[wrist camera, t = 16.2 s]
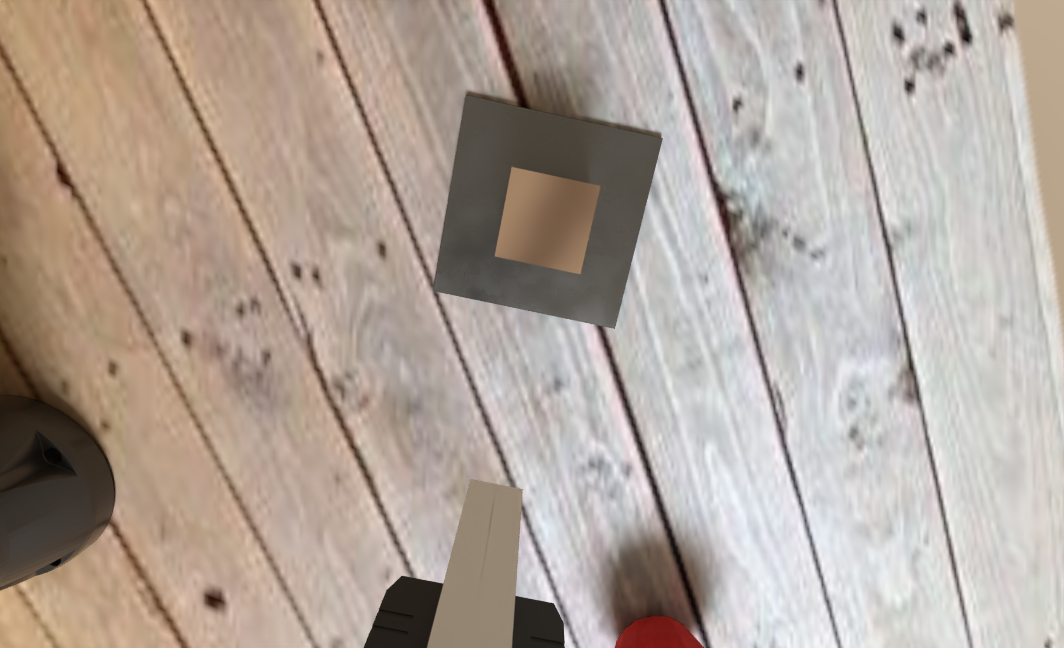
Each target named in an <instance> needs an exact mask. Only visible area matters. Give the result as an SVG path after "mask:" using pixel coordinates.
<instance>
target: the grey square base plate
mask: <svg viewBox="0 0 1064 648" xmlns="http://www.w3.org/2000/svg"><path fill="white" fill-rule="evenodd" d="M662 139H663V138H659V137H654V136H650V135H645V134H641V133H636V132H632V131H627V130H622V129H618V128H613V127H609V126H604V125H600V124H595V123H590V122H586V121H581V120H577V119H572V118H568V117H563V116H558V115H554V114H549V113H545V112H540V111H536V110H531V109H526V108H522V107H517V106H513V105H508V104H504V103H499V102H495V101H490V100H485V99H481V98H476V97H472V96H467V95H466V98H465V104H464V110H463V116H462V122H461V128H460V134H459V140H458V146H457V152H456V158H455V164H454V170H453V176H452V182H451V188H450V193H449V199H448V205H447V211H446V217H445V223H444V229H443V235H442V241H441V247H440V253H439V259H438V265H437V271H436V277H435V283H434V289H433V291H436V292H441V293H446V294H451V295H456V296H460V297H465V298H470V299H475V300H480V301H484V302H489V303H494V304H499V305H504V306H508V307H513V308H518V309H523V310H528V311H532V312H537V313H542V314H547V315H552V316H556V317H561V318H566V319H571V320H576V321H581V322H585V323H590V324H595V325H600V326H605V327H609V328H614V329H615V326H616V322H617V318H618V314H619V310H620V306H621V302H622V298H623V294H624V290H625V286H626V282H627V278H628V274H629V270H630V266H631V262H632V258H633V254H634V250H635V246H636V242H637V238H638V234H639V230H640V226H641V222H642V218H643V214H644V210H645V206H646V202H647V198H648V194H649V191H650V187H651V183H652V179H653V175H654V171H655V167H656V163H657V159H658V155H659V151H660V147H661V143H662ZM512 167H515V168H519V169H524V170H529V171H533V172H538V173H543V174H547V175H552V176H557V177H561V178H566V179H571V180H575V181H580V182H585V183H589V184H594V185H599V186H600V191H599V195H598V200H597V204H596V208H595V213H594V217H593V221H592V226H591V230H590V235H589V239H588V243H587V248H586V252H585V256H584V261H583V265H582V269H581V274H577V273H572V272H567V271H562V270H558V269H553V268H548V267H543V266H538V265H534V264H529V263H524V262H519V261H515V260H510V259H505V258H500V257H495V252H496V247H497V242H498V236H499V231H500V226H501V221H502V215H503V210H504V205H505V200H506V194H507V189H508V184H509V179H510V173H511V168H512Z"/></svg>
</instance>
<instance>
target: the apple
mask: <svg viewBox="0 0 1064 648" xmlns="http://www.w3.org/2000/svg"><path fill="white" fill-rule="evenodd" d="M615 648H704V647H703V646H702V645H701V644H700V643H699V641H698V640H697V639H696V638H695V637H694V636H693V635H692V634H691V633H690V632H689V630H688V629H687V628H686V627H685V626H684V625H683V624H681V623H679V622H677V621H676V620H674V619H672V618H670V617H662V616H650V617H646V618H642V619H638V620H636V621H635V622H633V623H632V624H631V625H630V626H628V627H627V628H626V629H625V630H624V631H623V633H622V634H621V635H620V637H619V638H618V640H617V641H616V645H615Z"/></svg>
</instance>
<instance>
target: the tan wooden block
mask: <svg viewBox="0 0 1064 648" xmlns="http://www.w3.org/2000/svg"><path fill="white" fill-rule="evenodd" d="M599 191H600V186H599V185H594V184H589V183H585V182H580V181H575V180H571V179H566V178H561V177H557V176H552V175H547V174H543V173H538V172H533V171H529V170H524V169H519V168H515V167H512V168H511V173H510V179H509V184H508V189H507V194H506V200H505V205H504V210H503V215H502V221H501V226H500V231H499V236H498V242H497V247H496V252H495V257H500V258H505V259H510V260H515V261H519V262H524V263H529V264H534V265H538V266H543V267H548V268H553V269H558V270H562V271H567V272H572V273H577V274H581V269H582V265H583V261H584V256H585V252H586V248H587V243H588V239H589V235H590V230H591V226H592V221H593V217H594V213H595V208H596V204H597V200H598V195H599Z"/></svg>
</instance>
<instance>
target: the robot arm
mask: <svg viewBox="0 0 1064 648" xmlns="http://www.w3.org/2000/svg"><path fill="white" fill-rule="evenodd" d="M522 490H523V489H519V488H514V487H509V486H503V485H498V484H493V483H488V482H483V481H478V480H473V479H470V483H469V487H468V491H467V494H466V498H465V502H464V506H463V510H462V514H461V518H460V522H459V526H458V529H457V533H456V537H455V541H454V545H453V549H452V553H451V557H450V560H449V564H448V568H447V572H446V576H445V580H444V584H442V583H437V582H432V581H426V580H421V579H416V578H411V577H406V576H401V577H400V578H399V579H398V580H397V581H396V582H395V583H394V584H393V585H392V586H391V587H390V588H389V589H387V591H386V593H385V596H384V598H383V601H382V603H381V606H380V608H379V612H378V613H377V616H376V618H375V621H374V623H373V626H372V629H371V631H370V633H369V636H368V638H367V641H366V643H365V646H364V648H565V647H564V643H565V642H564V623H563V621H562V619H561V617H560V615H559V613H558V611H557V609H556V607H555V605H554V603H549V602H544V601H539V600H533V599H528V598H523V597H518V596H515V593H516V579H517V564H518V549H519V534H520V520H521V505H522ZM113 505H114V486H113V480H112V476H111V473H110V470H109V467H108V465H107V462H106V460H105V458H104V456H103V454H102V453H101V451H100V449H99V448H98V446H97V445H96V444H95V442H94V441H93V440H92V438H91V437H90V436H89V435H88V434H87V433H86V432H85V431H84V430H83V429H82V428H81V427H80V426H79V425H78V424H77V423H75V422H74V421H73V420H71V419H70V418H69V417H67V416H66V415H64V414H63V413H61V412H59V411H58V410H56V409H54V408H52V407H50V406H48V405H46V404H43V403H41V402H38V401H35V400H32V399H28V398H23V397H18V396H8V395H0V590H3V589H6V588H8V587H11V586H13V585H16V584H18V583H21V582H23V581H26V580H28V579H30V578H32V577H34V576H37V575H41V574H44V573H46V572H49V571H51V570H54V569H56V568H58V567H60V566H62V565H64V564H65V563H67V562H68V561H70V560H71V559H73V558H74V557H75V556H77V555H78V554H79V553H81V552H82V551H83V550H85V549H86V548H87V547H89V546H90V545H91V544H92V543H94V542H95V541H96V540H97V539H98V538H99V537H100V535H101V534H102V533H103V531H104V530H105V528H106V527H107V525H108V523H109V520H110V518H111V515H112V511H113Z"/></svg>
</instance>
